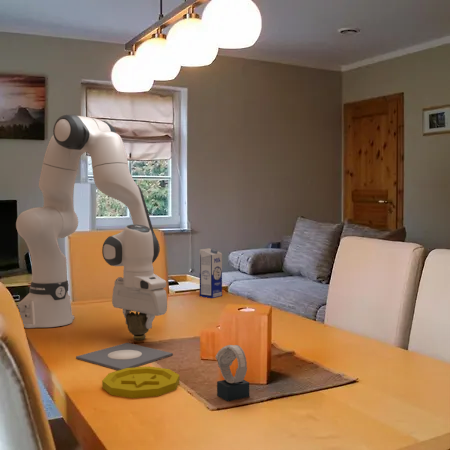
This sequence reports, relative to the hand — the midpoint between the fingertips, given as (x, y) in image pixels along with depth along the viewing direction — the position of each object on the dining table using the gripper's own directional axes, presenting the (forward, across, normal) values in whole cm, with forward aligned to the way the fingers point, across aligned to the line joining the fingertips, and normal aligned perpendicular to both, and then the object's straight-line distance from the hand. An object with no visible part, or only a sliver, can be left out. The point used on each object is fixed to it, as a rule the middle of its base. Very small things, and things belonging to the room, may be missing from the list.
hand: (138, 326), depth 176 cm
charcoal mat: (+4, +10, -15) cm, 18 cm away
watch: (+4, +52, -20) cm, 56 cm away
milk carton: (+4, -30, +69) cm, 76 cm away
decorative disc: (+4, +30, -28) cm, 41 cm away
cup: (+4, 0, 0) cm, 4 cm away
